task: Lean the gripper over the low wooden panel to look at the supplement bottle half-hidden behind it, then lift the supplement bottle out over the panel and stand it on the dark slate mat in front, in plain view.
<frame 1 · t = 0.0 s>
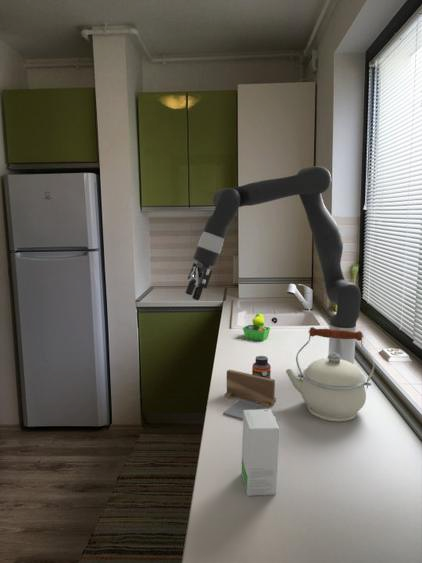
hand: (191, 296, 136), 31 cm above the worktop, tool tilted 20°, fingers open, 8 cm apart
supplement bottle: (261, 390, 140), on the worktop
wooden panel: (249, 399, 133), on the worktop
mat: (246, 411, 125), on the worktop
kettle: (326, 410, 126), on the worktop
skincare box: (259, 484, 92), on the worktop
fruit basket: (256, 338, 197), on the worktop
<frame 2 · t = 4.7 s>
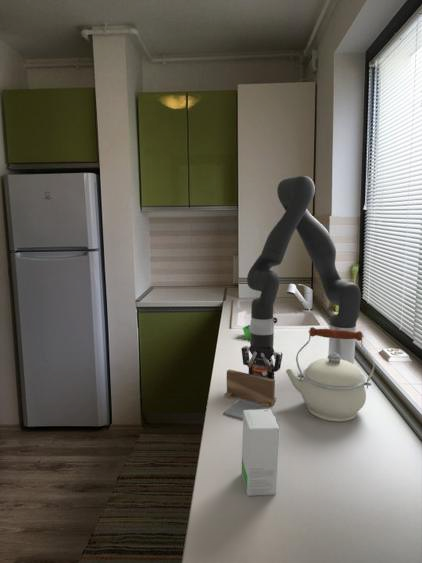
hand: (261, 379, 140), 4 cm above the worktop, tool pointing down, fingers closed on supplement bottle, 6 cm apart
supplement bottle: (261, 390, 140), on the worktop, touching gripper
everything else where it was.
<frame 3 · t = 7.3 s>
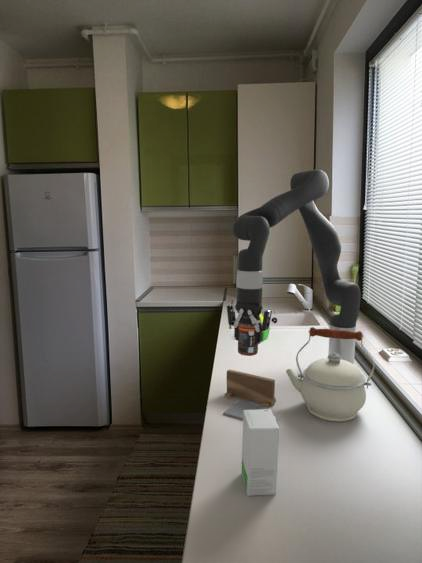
hand: (247, 341, 125), 20 cm above the worktop, tool pointing down, fingers closed on supplement bottle, 6 cm apart
supplement bottle: (247, 353, 126), point 17 cm above the worktop, touching gripper
everything else where it was.
when the fingers open (5 cm above the worktop, at t = 10.0 s): supplement bottle drops 1 cm, resting on mat.
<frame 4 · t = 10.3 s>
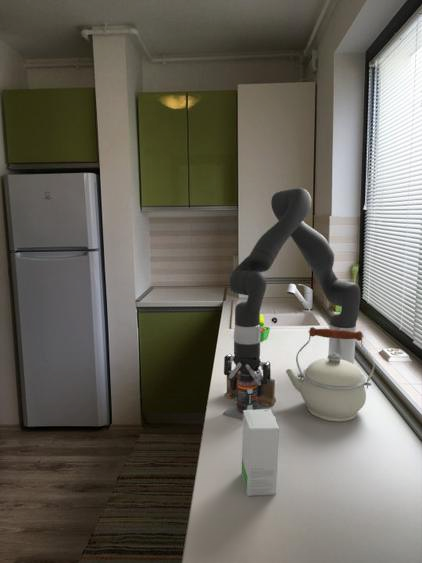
hand: (246, 392, 124), 6 cm above the worktop, tool pointing down, fingers open, 8 cm apart
supplement bottle: (246, 410, 125), resting on mat
everything else where it was.
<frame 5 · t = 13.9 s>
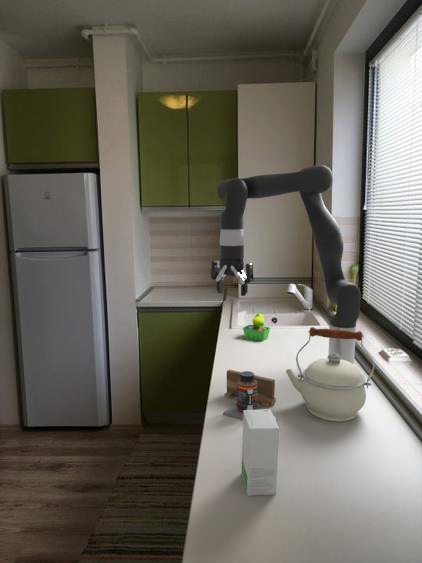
hand: (231, 294, 136), 32 cm above the worktop, tool pointing down, fingers open, 8 cm apart
nothing on the worktop moved.
at the end: supplement bottle inside the target area on the mat (0.1 cm from its centre), point 0.4 cm above the mat's base; supplement bottle tilted 0°; the gripper is holding nothing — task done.
